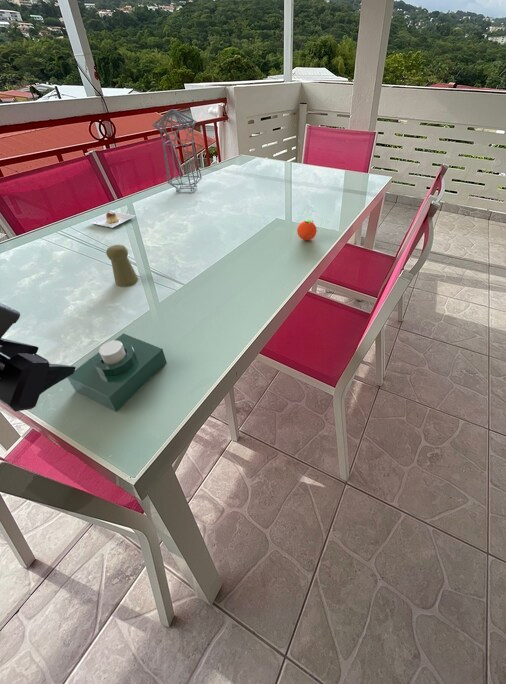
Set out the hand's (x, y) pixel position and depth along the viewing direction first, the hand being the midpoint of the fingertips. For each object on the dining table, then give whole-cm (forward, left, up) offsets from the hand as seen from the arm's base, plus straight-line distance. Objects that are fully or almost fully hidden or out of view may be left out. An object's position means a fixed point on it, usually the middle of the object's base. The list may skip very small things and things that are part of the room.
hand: (55, 359), depth 52 cm
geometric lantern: (+62, +107, -14) cm, 125 cm away
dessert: (+24, +88, -14) cm, 92 cm away
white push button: (+7, +5, -8) cm, 12 cm away
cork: (+17, +41, -14) cm, 47 cm away
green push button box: (+7, +5, -14) cm, 17 cm away
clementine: (+76, +31, -14) cm, 84 cm away
